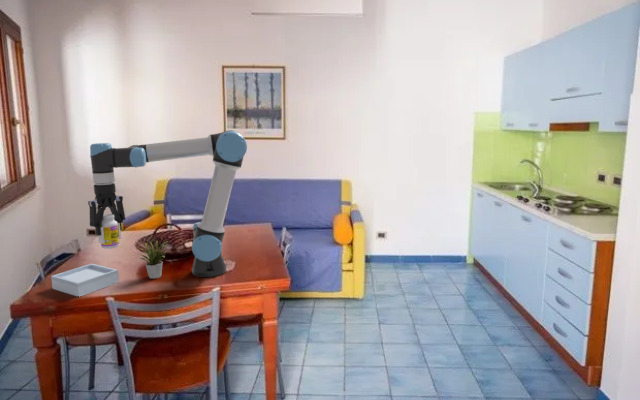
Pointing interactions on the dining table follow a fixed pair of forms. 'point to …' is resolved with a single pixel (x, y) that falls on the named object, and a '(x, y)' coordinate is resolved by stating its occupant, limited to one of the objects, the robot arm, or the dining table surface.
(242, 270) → the dining table surface
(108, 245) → the supplement bottle
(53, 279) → the shallow open tray
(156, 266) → the house plant
